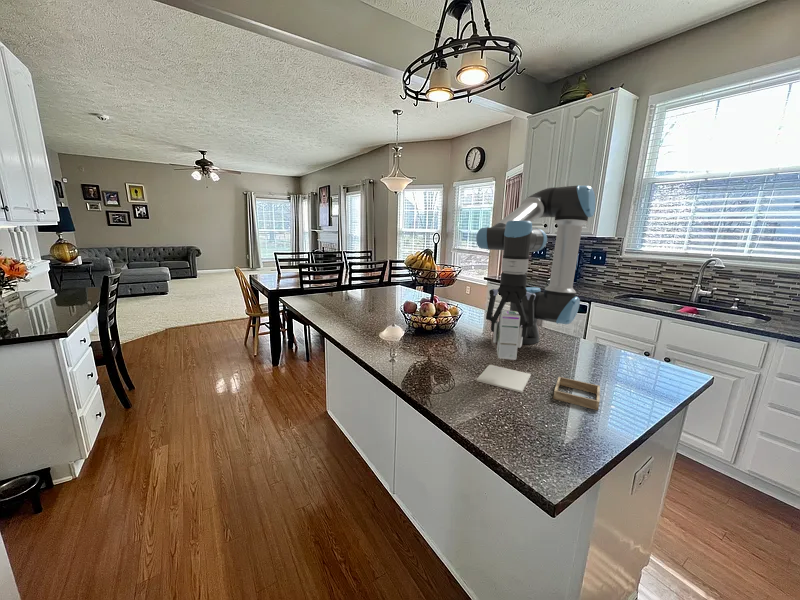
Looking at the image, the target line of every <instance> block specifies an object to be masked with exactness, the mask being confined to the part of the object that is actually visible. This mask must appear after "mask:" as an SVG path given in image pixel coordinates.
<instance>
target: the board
mask: <svg viewBox="0 0 800 600" xmlns="http://www.w3.org/2000/svg"><path fill="white" fill-rule="evenodd" d="M531 375H532V374H531V373H528V372H524V371H521V370H515V369H512V368H507V367H501V366H497V365H493V364H488V366H487V367H486V368H485V369H484V370H483V372H482V373H480V375H478V377H477V378H476V382H479V383H484V384H485V385H486V384H487V385H489V386H495V387H498V388H502V389H506V390H510V391H513V392H518V393H521V394H522V393H523V392H524V390H525V388H526V385H528V382H529V380H530V377H531Z"/></svg>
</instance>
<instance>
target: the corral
mask: <svg viewBox="0 0 800 600" xmlns="http://www.w3.org/2000/svg"><path fill="white" fill-rule="evenodd" d="M560 386H563V387H566V388H571V389H575V390H579V391H584V392H588V393H591V394H592V393H593V394H595V395H596V397H595V399H592V398H588V397H584V396H581V395H577V394H572V393H569V392H565V391H561V390H559V388H560ZM600 395H601V385H599V384H593V383H589V382H585V381H581V380H575V379H571V378H567V377H561V376H558V377H557V381H556V384H555V388H554V390H553V397H552V398H553V400H557V401H561V402H564V403H569V404H572V405H576V406H581V407H584V408H588V409H591V410H595V411H599V407H600V401H601V400H600V399H601V396H600Z"/></svg>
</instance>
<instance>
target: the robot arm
mask: <svg viewBox="0 0 800 600" xmlns="http://www.w3.org/2000/svg"><path fill="white" fill-rule="evenodd" d="M595 212H596V195H595V191H594V189H593V187H592V186H590V185H571V186H570V185H569V186H557V187H548V188H544V189H542V190H539V191H537V192H535V193H533V194H531V195H529V196H528V197H526V198H525V199H523V201H522V202H521V203H520V205H519V206H518V207H517V208H516V209H514V210H513V211H511V212H510V213H509V214H508V215H506V216H505V217H503V219H501V220H499V221H498V222H497V223H495V224H494V225H493V226H491V227H489V226H485V227H481V228H479V229H478V230H477V233H476V238H475V239H476V246H477V247H479V249H482V250H489V251H490V250H494V251H502V261H501V271H502V272H501V274H500V281H499V282H500V283H499V287H498V288H492V289H490V290H488V291H489V292H488V293H489V301H488V306H487V311H486V314H485V315H486V316H485V319H486V320H488V321H490V323H491V327H490V331H491V332H492V333H493V335H492V336H493V338H492V339H493V340H492V343H493V344H497V342H498V331H499V320H498V319H499V318H500V312H501V311H502V310H503V309H504V307H505V305H506V303H510V304H509V311H517V312H518V313H519V315H520V326H519V337H518V348H521V347H522V346H523V345H535V344H538V343H539V342H540V333H539V328H538V325H537V323H538V320H540V321H545V322H551V323H555V324H557V325H560V324H561V325H569V324H571V323H573V322H574V320H575V318H576V316H577V314H578V312H579V309H580V305H581V304H580V303H581V302H580V301H581V299H580V298H579V297H578V296H576V295H577V291H576V290H575V289H574V279H575V274H576V267H577V263H578V255H579V251H580V250H579V248H580V243H581V236H582V228H583V226H585V225H586V224H587V223H588V220H589V218H592V217H594V216H595ZM540 218H554V223H555V224H556V225H557V228H556V229H557V231H556V236H555V237H556V238H555V244H554V245H555V246H554V250H553V251H554V252H553V258H552V264H551V265H552V266H551V271H550V278H549V284H548V286H546V287H545V288H544V290H543V291H544V292H542V290H541V288H540V287H534V286H530V287H529V286H528V287H527V281H528V279H527V278H528V275H527V272H528V270H529V259H530V253H536V252H539V251H541V250H543V249H544V247H545V246H546V245H547V243H548V236H547V233H546V232H545V231H544V230H543V229H540V228H538V227H533V221H537V220H539V219H540ZM498 294H499V296H500V297H501V299H500V301H499V304H498V306H497V308H496V310H495V312H494V306H495V302H496V299H497V298H496V297H497V296H498ZM493 313H494V314H493ZM518 348H517V349H518Z"/></svg>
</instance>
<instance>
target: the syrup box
mask: <svg viewBox="0 0 800 600" xmlns="http://www.w3.org/2000/svg"><path fill="white" fill-rule="evenodd" d="M498 319H499V320H498V322H499V330H498V341H497V342H496V344H497V345H496V355H497V358H498V359H500V360H501V359H504V360H512V361H513V360H514V361H516V360H517V354H518V337H519V326H520V315H519V313H518V312H517V311H510V309H508V310H507V309H504V310H503V309H502V311H501V312H500V315H499V318H498Z"/></svg>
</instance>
